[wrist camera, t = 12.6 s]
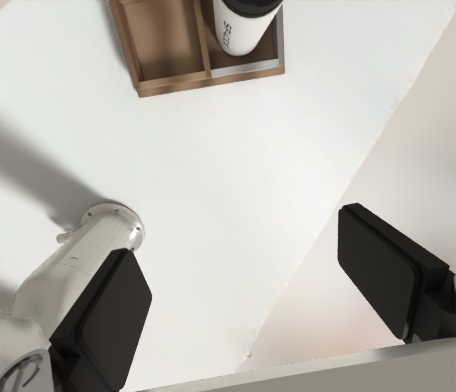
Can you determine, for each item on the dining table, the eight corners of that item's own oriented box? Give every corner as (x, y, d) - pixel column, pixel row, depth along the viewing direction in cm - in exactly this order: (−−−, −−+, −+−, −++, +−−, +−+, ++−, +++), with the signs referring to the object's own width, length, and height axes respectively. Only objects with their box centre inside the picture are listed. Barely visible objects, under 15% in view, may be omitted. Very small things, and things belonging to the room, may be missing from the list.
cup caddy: (142, 97, 35) (132, 97, 31) (113, -4, 30) (96, -21, 26) (282, 74, 34) (290, 71, 30) (277, -35, 29) (287, -57, 25)
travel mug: (252, -7, 29) (304, -186, 11) (264, 49, 32) (321, -20, 13) (209, 10, 30) (188, -131, 11) (223, 63, 32) (226, 17, 14)
